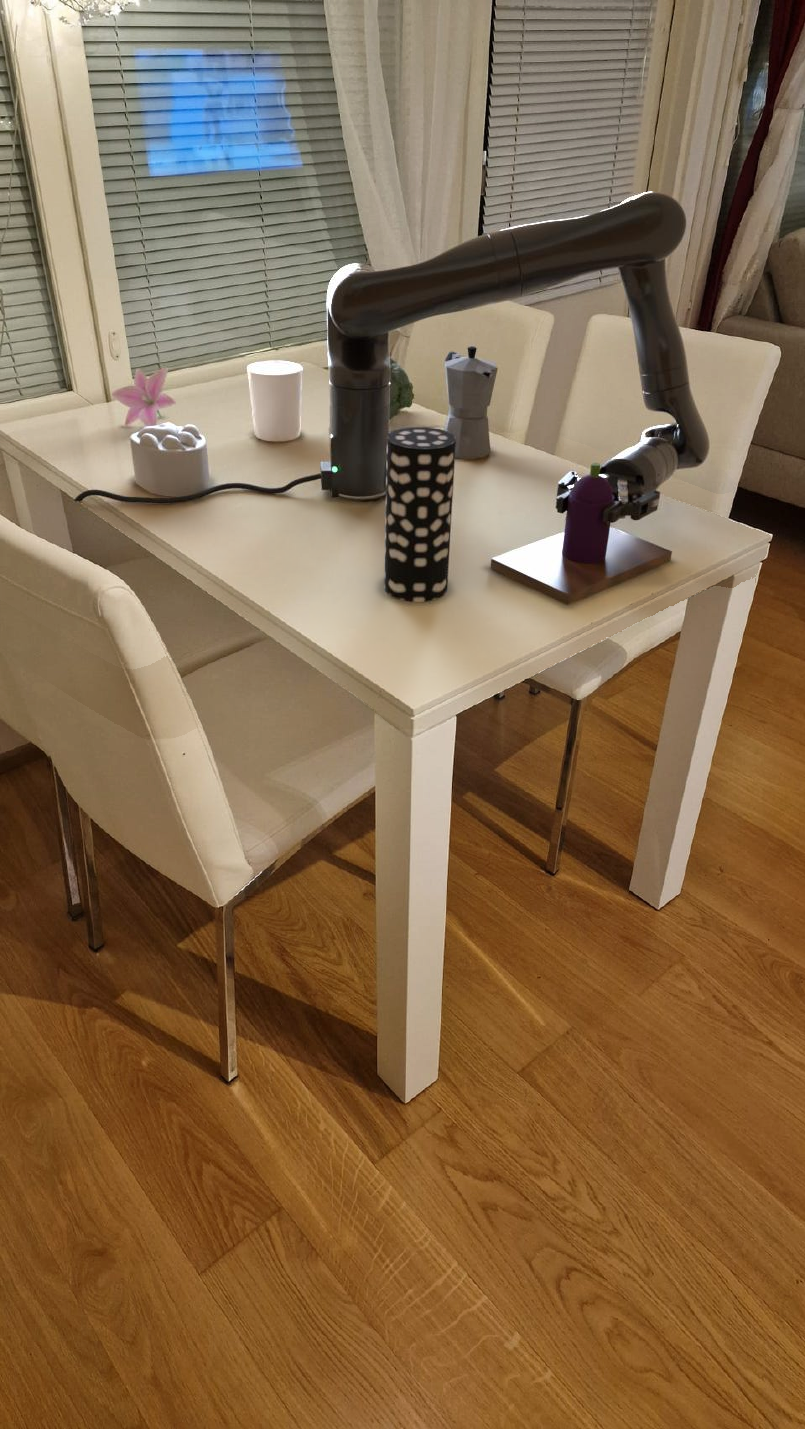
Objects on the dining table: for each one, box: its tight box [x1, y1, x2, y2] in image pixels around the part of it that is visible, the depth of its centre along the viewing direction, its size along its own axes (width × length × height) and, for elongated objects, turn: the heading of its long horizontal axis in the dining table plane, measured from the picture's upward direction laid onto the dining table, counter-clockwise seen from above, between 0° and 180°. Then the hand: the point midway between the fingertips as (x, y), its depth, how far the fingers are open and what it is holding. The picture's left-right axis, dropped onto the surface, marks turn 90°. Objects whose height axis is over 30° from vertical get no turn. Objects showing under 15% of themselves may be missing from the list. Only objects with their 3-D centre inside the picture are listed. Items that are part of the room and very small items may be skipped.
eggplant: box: [562, 462, 614, 563], centre depth 132 cm, size 6×6×13 cm
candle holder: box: [246, 360, 304, 443], centre depth 177 cm, size 10×10×12 cm
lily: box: [111, 366, 177, 427], centre depth 182 cm, size 12×12×10 cm
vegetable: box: [389, 357, 415, 422], centre depth 188 cm, size 12×13×15 cm
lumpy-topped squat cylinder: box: [129, 422, 211, 498], centre depth 156 cm, size 10×13×9 cm
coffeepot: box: [443, 345, 498, 460], centre depth 171 cm, size 15×9×18 cm, turn 25°
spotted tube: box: [383, 426, 456, 603], centre depth 124 cm, size 8×8×20 cm
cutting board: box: [490, 526, 673, 606], centre depth 136 cm, size 22×14×2 cm, turn 131°
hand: (582, 511), depth 130 cm, fingers closed on eggplant, 6 cm apart
